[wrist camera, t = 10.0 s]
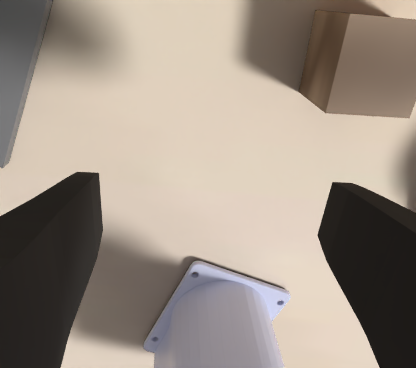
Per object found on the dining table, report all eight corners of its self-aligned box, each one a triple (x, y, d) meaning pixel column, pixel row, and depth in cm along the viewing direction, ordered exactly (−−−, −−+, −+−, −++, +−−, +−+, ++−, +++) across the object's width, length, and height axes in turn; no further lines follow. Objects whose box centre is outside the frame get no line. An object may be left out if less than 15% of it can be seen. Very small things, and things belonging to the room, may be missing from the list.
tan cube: (367, 96, 19) (409, 118, 16) (298, 91, 19) (325, 113, 15) (390, 17, 18) (444, 22, 14) (314, 9, 17) (350, 13, 14)
